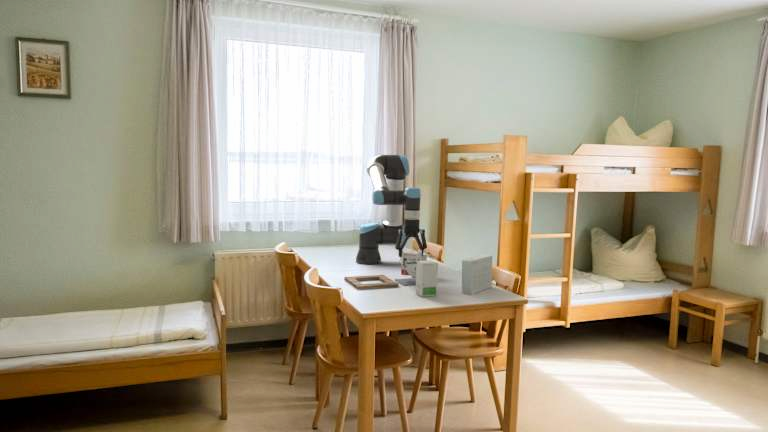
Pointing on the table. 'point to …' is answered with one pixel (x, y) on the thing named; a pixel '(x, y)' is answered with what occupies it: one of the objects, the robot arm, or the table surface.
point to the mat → (407, 281)
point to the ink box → (410, 263)
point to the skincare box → (426, 278)
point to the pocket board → (386, 283)
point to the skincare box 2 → (476, 274)
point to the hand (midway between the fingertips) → (410, 263)
